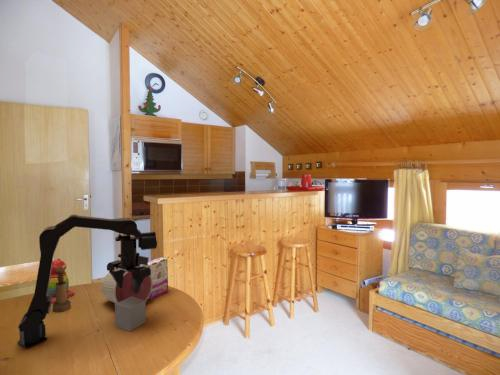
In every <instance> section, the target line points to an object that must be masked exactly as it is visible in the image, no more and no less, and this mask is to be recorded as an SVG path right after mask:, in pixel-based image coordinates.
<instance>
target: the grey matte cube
mask: <svg viewBox="0 0 500 375" xmlns="http://www.w3.org/2000/svg"><path fill="white" fill-rule="evenodd" d="M146 313H147V311H146V302H145V300H142V299H139V298H135V297H132V296H131V297H129V298H127V299H125V300H123V301H120V302H118V303H114V315H115V316H114V318H115V322H114V323H115V326H114V327H116V328H119V329H120V330H123V331H127V332H128V333H129V332H131V331H134V330H135V329H137V328H138V327H140V326H142V325H144V324H145V323H146V322H147V321H146V320H147V319H146V318H147V317H146Z"/></svg>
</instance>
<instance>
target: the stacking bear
mask: <svg viewBox="0 0 500 375" xmlns="http://www.w3.org/2000/svg"><path fill="white" fill-rule="evenodd" d="M58 267H63V268H64V270H65V271H64V273H63V277H64V280H63V282H66V283H67V299H68V298H71V297H73V296H75V292H74V290H69V285H70V281H69V277H68V274H67V272H66V269H67V264H66V262H64V261H63V260H62V259H61V258H57V259H53V263H52V269H51V275H50V281H49V287H48V296H53V297H52V300H51V304H54V303H55V302H56V283H58V282H59V281H58V277H59V275H58V274H57V272H56V270H57V268H58Z"/></svg>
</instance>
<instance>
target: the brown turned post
mask: <svg viewBox="0 0 500 375" xmlns="http://www.w3.org/2000/svg"><path fill="white" fill-rule="evenodd" d="M64 271H65V272H66V269H65V270H64V268H63V267H58V268H57V270H56V272H57V274H58V275H59V277H58V281H59V282H58V283H56V302H55V303H52V311H53V312H54V313H55V312H56V313H61V312H65V311H67V310H69V309H71V307H72V304H71V303H72V302H71V300H69V299H68V298H67V283H66V282H63V280H64V277H63V273H64Z"/></svg>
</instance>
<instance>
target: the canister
mask: <svg viewBox="0 0 500 375" xmlns="http://www.w3.org/2000/svg"><path fill="white" fill-rule="evenodd" d="M142 266H143V265H142ZM142 266H141V265H140V266H137V267H136V268H139V267H142ZM131 278H133V277H132V272H128V271H125V272H124V273H123V285H122V288H119V287H118V285H117V283H116V282H115V280H114V278H113V277H112V275H111V274H110V273H109V272H108V273H107V274H106V275H105V276H104V278H103V279H102V281H101V293H102V295H103V297H104V298H106V300H107V301H110V302H111V303H114V304H116V303H118V302H120V301H123V300H125V299H127V298H129V297H131V296H132V297H135V298H139V299H142V300H145V303H146V302H147V301H148V300H149V299H148V298H149V296H150V294H151V290H152V277H151V275H149V276H148V277H146V278H144V280H143V282H142V284H141V287H140V289H139V292H138V293H137V294H136V293H135V291H134V287H133V283H132V279H131Z"/></svg>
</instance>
